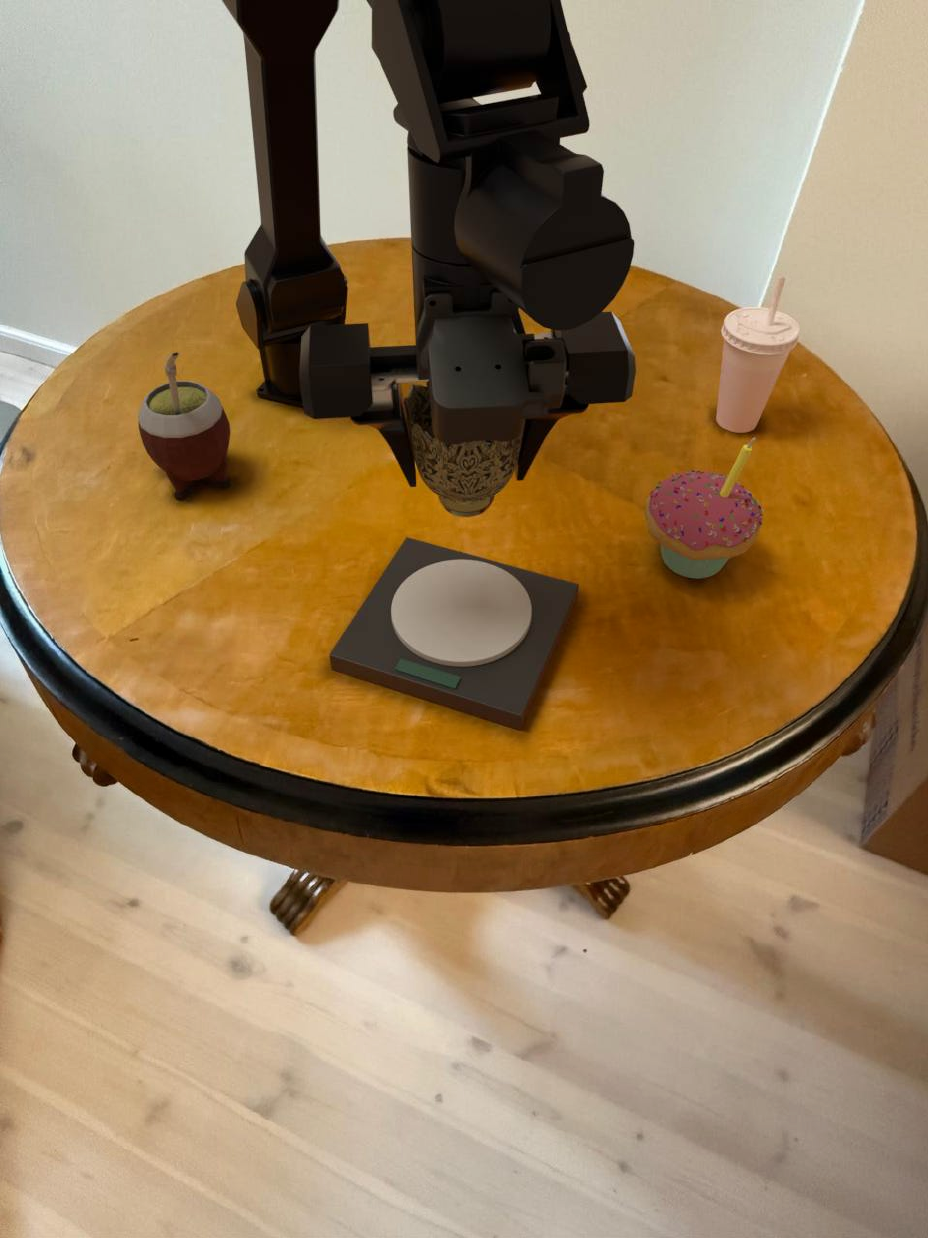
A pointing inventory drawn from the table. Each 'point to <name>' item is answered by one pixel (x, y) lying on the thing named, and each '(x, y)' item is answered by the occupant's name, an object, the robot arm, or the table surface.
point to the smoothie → (752, 361)
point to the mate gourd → (186, 433)
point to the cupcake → (703, 519)
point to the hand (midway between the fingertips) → (465, 480)
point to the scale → (458, 631)
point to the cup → (458, 461)
